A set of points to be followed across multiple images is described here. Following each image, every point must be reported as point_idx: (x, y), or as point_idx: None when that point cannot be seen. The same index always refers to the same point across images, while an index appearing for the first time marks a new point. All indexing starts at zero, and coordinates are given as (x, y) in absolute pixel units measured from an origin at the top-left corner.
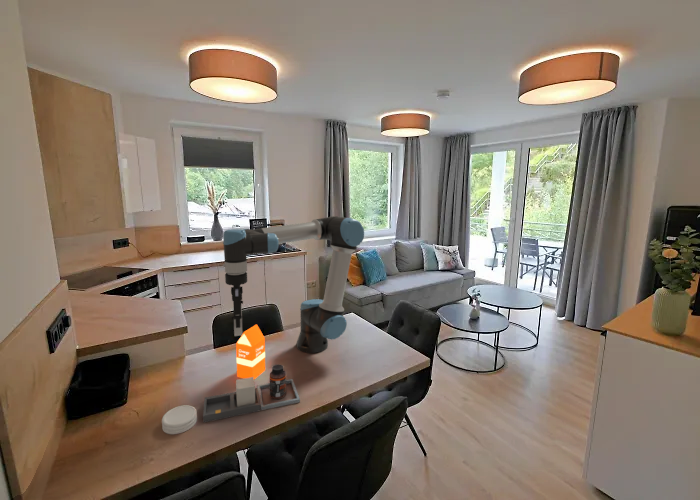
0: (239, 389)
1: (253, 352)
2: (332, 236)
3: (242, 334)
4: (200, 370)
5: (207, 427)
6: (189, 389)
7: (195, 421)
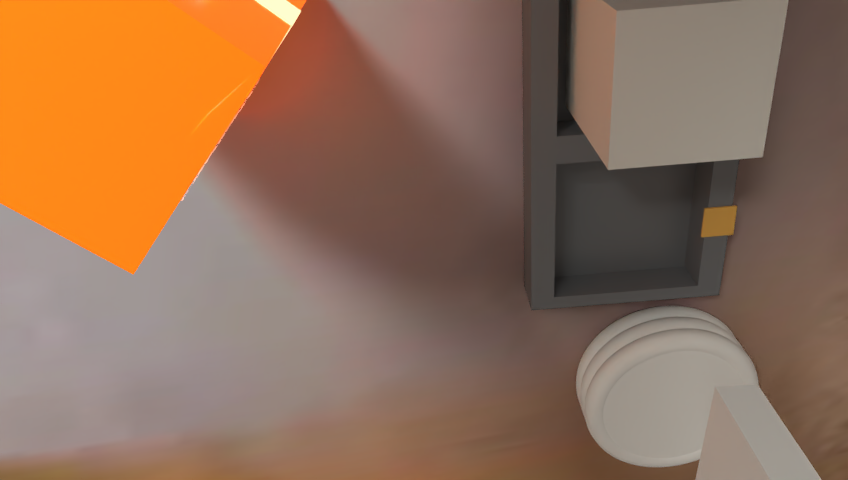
0: (765, 132)
1: (247, 28)
2: None
3: (765, 396)
4: (118, 360)
5: (754, 246)
6: (344, 382)
7: (694, 313)
